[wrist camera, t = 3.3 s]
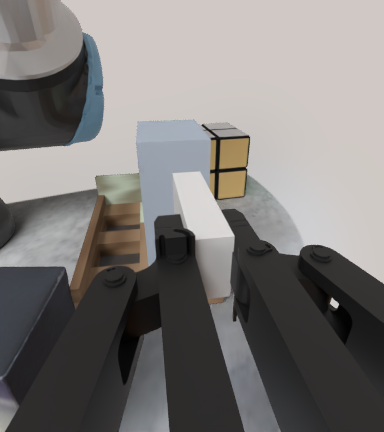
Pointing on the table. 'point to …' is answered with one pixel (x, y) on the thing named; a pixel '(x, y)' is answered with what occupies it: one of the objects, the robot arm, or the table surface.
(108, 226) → the trap box
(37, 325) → the small box
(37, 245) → the table surface
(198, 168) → the slate block
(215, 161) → the puzzle cube
